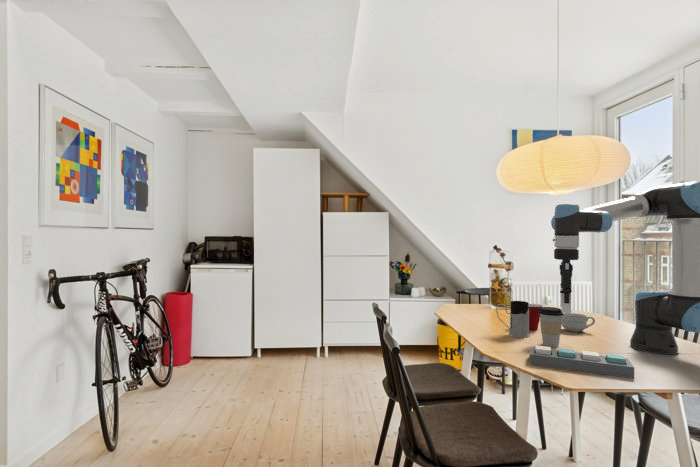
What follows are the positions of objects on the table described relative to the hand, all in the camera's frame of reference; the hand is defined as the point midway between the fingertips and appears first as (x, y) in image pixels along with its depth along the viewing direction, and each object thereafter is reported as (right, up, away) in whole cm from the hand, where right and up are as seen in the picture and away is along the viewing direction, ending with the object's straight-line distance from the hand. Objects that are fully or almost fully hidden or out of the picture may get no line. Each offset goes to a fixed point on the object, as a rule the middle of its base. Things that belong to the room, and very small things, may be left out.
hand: (565, 310), depth 137 cm
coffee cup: (+7, -19, +25) cm, 32 cm away
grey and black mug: (-1, -20, +41) cm, 46 cm away
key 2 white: (+6, -16, -4) cm, 18 cm away
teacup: (+33, -20, +49) cm, 62 cm away
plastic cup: (+12, -20, +53) cm, 58 cm away
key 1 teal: (+13, -16, -7) cm, 22 cm away
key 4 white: (-7, -16, +3) cm, 18 cm away
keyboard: (+3, -19, -2) cm, 19 cm away
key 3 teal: (0, -16, -1) cm, 16 cm away
